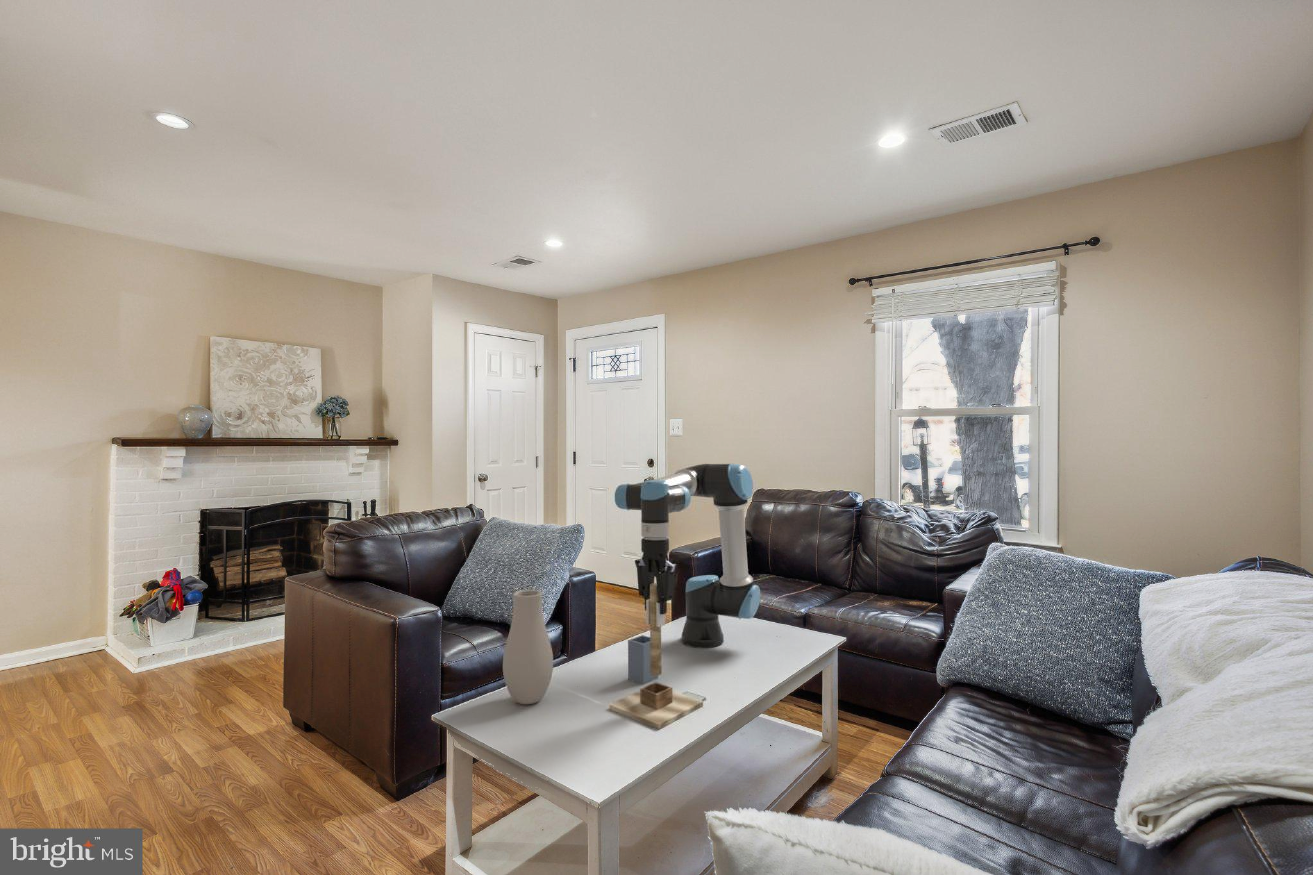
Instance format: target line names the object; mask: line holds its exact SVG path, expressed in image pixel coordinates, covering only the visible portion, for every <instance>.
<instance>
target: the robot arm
mask: <svg viewBox="0 0 1313 875" xmlns="http://www.w3.org/2000/svg"><path fill="white" fill-rule="evenodd" d="M753 490H754V482H753V477H752V474H751V472H750V470H749V469H748V468H747V467H746V466H745V465H743V464H735V463H701V464H696V465H692V466H689V467H685V468H681V469H679V470H676V472H674V474H671V475H667V476H663V477H658V478H654V479H651V480H644V481H642V482H639V483H633V484H632V483H623V484H620V485H618V486H617V487H616V489H615V492H614V502H615V505H616V507H617V508H618V509H622V510H627V511H630V510H631V511H632V510H633V511H641V512H640V513H641V514H640V515H641V518H640V519H641V520H640V521H641V522H640V523H641V525H640V528H641V529H640V530H641V533H640V534H641V537H642V538H641V540H640V544H641V545H640V546H641V548H640V550H641V552H642V556H641V557H640V558H639V559H635V560H634V563H635V564H634V565H635V568H636V573H637V574H636V576H637V577H636V578H637V589H638V595H639V596H640V597H642V598H643V600H644V610H645V611H646V612H645V613H646V614H645V615H646V618H645V620H646V625H649V626H650V584H652V583H657V591H658V601H657V602H656V627H660V626H661V627H663V626H665V625H666V615H667V611H668V607H667V606H668V604H667V603H668V602H669V601H672V600H673V599H674V588H675V573H676V571H677V570H676V569H677V567H678V566H677V564H676V563H672V562H670V559H669V556H668V553H669V551H670V540H669V538H668V537H669V536H670V523H669V522H670V520H669V517H670V516H669V514H671V513H676V512H681V511H683V510H686V509H687V508H688V507H689V505H690V504H691V502H692V497H699V498H700V497H701V498H711V499H713V501H712V502H713V505H714V506H715V508H717V509H718V520H719V521H718V522H719V532H720V544H721V560H722V571H723V572H722V574H723V575H721V577H720V578H719V576H718V575H715V574H706V575H698V576H697V575H696V576H694V577H690V578H689V579H687V581H686V583H685V584H686V585H685V591H684V592H685V617H686V618H685V623H684V625H683V627H682V628H683V629H682V633H681V642H682V644H684V645H685V646H688V647H693V648H697V649H698V648H703V649H709V648H714V647H715V648H716V647H718V646H720V645H723V644H724V641H725V640H724V638H725V637H724V636H725V635H724V633H723V630H722V627H721V623H720V621H719V616H723V617H730V618H736V619H739V620H741V619H743V620H744V619H746V620H749V619H752V618H754V616H755V615H756V614H757V611H758V609H759V604H760V601H761V590H760V587H759V585H757V584H754V578H753V576H752V575H750V574H749V567H748V566H749V565H748V556H747V555H748V551H747V540H746V539H747V537H746V522H745V513H744V512H745V510H744V508H745V506H747V504H748V502H749V501H748V500H750V499H751V497H752V496H753V492H754V491H753ZM655 580H656V582H655Z"/></svg>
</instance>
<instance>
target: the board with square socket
mask: <svg viewBox="0 0 1313 875" xmlns="http://www.w3.org/2000/svg"><path fill="white" fill-rule="evenodd" d="M703 706H704V701H700V700H697V699H694V698H691V697H689V696H686V695H683V694H682V693H680V692H678V691H673V687H672V686H668V685H666V684H662V683H659V682H657V681H655V682H652V683H650V684H648V685H644V686H643V687H641V688H639V690H638V691H636V692H634V693H632V694H629V695H627V696H625V697H622V698H621V699H619V700H617V701H614V702H612V703H609V705H608V709H609V710H611V711H614V712H616V713H618V714H620V715H623V716H624V717H625V716H626V717H628V718H630V719H633V720H635V721H638V722H640V723H643V724H645V725H648V726H650V727H652V728H655V729H657V730H662V729H663V728H665V727H667V726H668V725H670V724H673V723H675V722H676V721H678V720H679V719H681V718H683V717H686V716H687V715H689V714H691V713H693V712H694V711H696V710H698V709H700V708H701V707H703Z"/></svg>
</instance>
